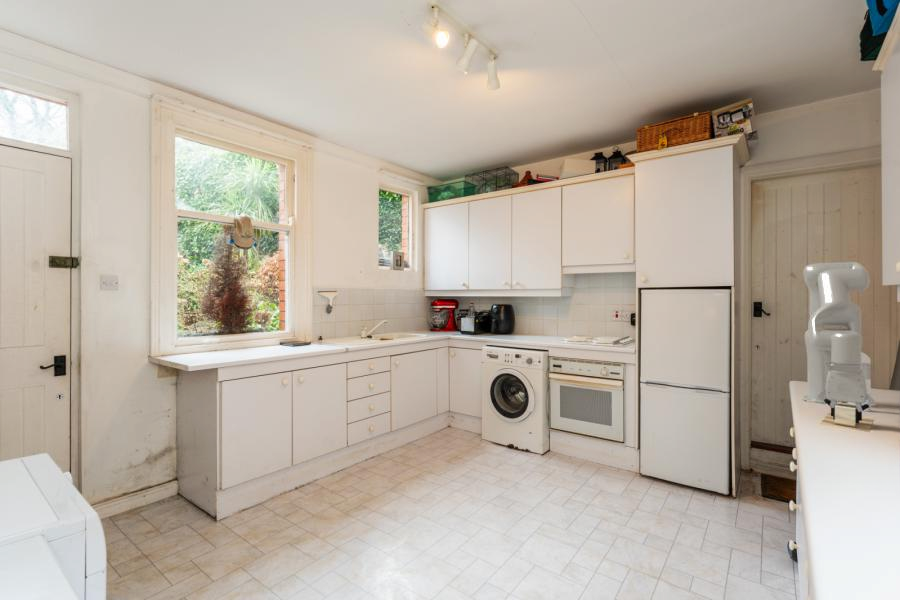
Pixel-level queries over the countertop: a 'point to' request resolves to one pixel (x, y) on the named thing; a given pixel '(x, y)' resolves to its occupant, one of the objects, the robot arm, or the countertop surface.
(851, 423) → the block
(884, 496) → the countertop surface
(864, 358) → the water bottle
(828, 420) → the oak board
